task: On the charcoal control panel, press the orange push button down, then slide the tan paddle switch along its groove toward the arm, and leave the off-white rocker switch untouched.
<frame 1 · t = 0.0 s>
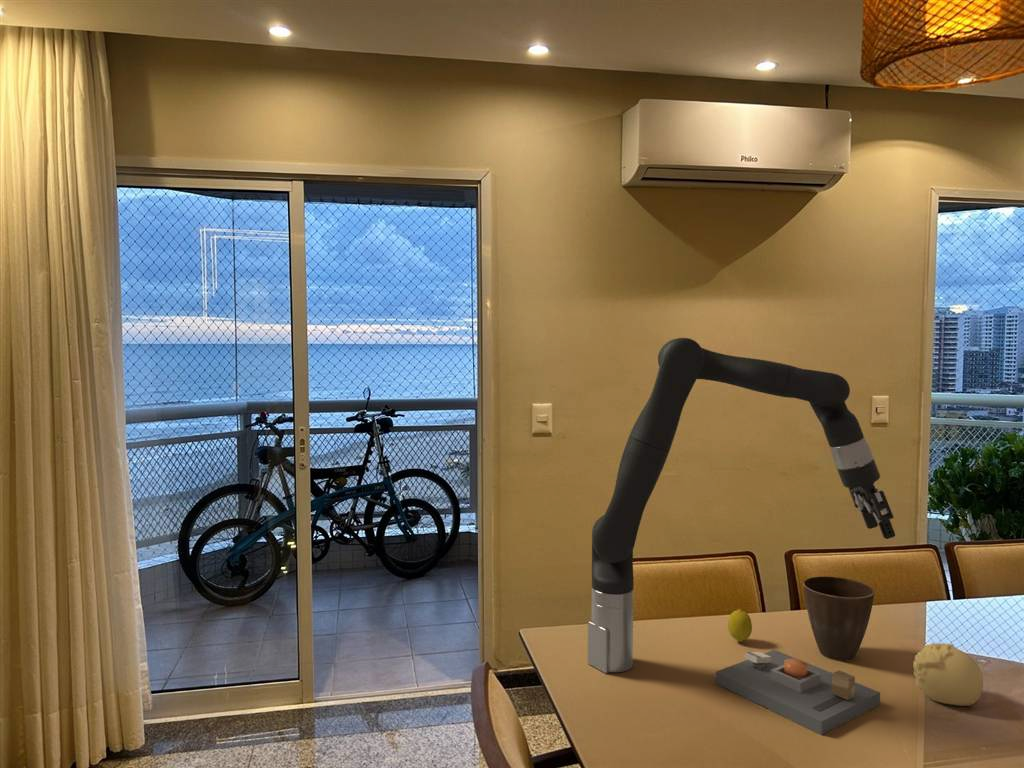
hand: (881, 532, 147), 31 cm above the table, tool tilted 20°, fingers open, 8 cm apart
push button: (795, 668, 141), point 5 cm above the table, slide at 0.0 cm
control panel: (795, 693, 141), on the table
slide paddle: (843, 684, 134), point 5 cm above the table, slide at 0.0 cm
rocker switch: (758, 657, 148), point 4 cm above the table, hinge at 12.0°
lemon: (739, 642, 167), on the table
sculpture: (946, 699, 139), on the table
plant pot: (836, 655, 160), on the table
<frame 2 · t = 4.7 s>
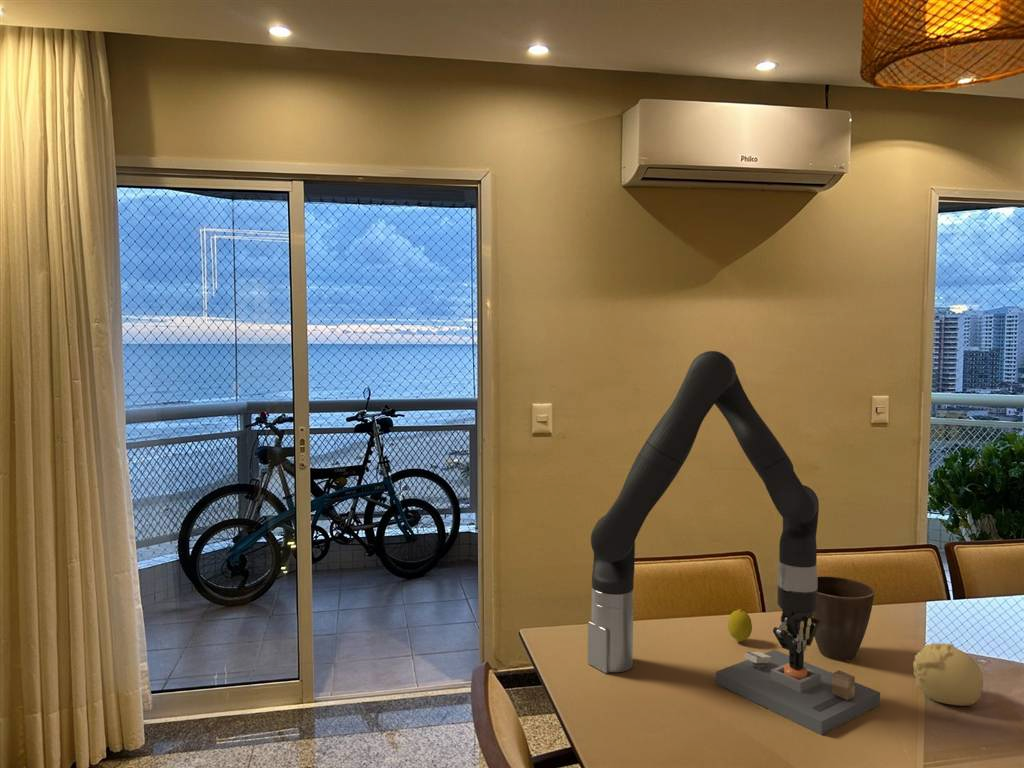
hand: (796, 668, 141), 5 cm above the table, tool pointing down, fingers closed
push button: (795, 673, 141), point 4 cm above the table, slide at 1.1 cm, touching gripper
everything else where it was.
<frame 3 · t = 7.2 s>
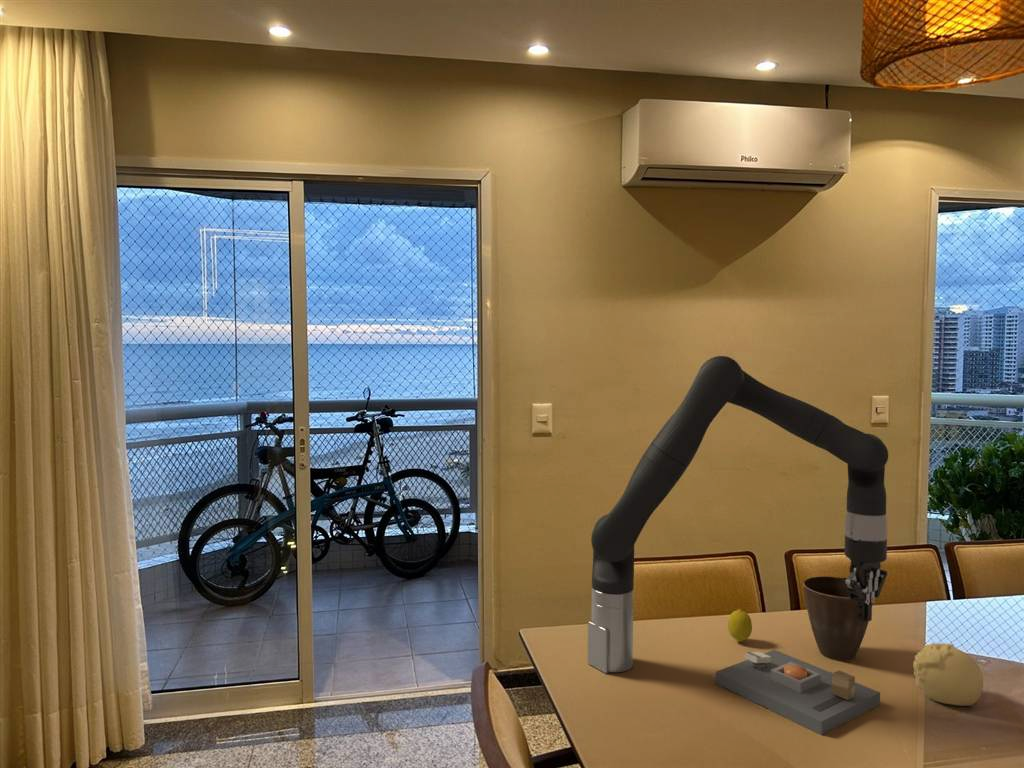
hand: (864, 620, 138), 16 cm above the table, tool pointing down, fingers closed
push button: (795, 674, 141), point 4 cm above the table, slide at 1.3 cm
everything else where it was.
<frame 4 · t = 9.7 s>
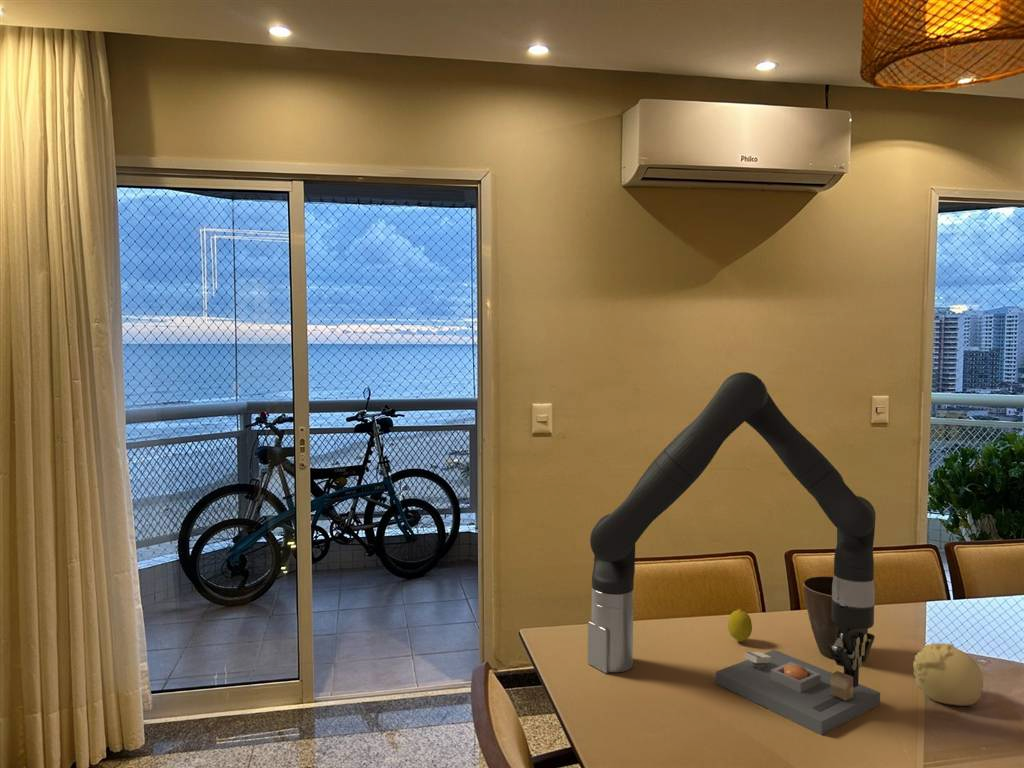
hand: (850, 685, 136), 4 cm above the table, tool pointing down, fingers closed
slide paddle: (841, 685, 134), point 5 cm above the table, slide at 0.5 cm, touching gripper
everything else where it was.
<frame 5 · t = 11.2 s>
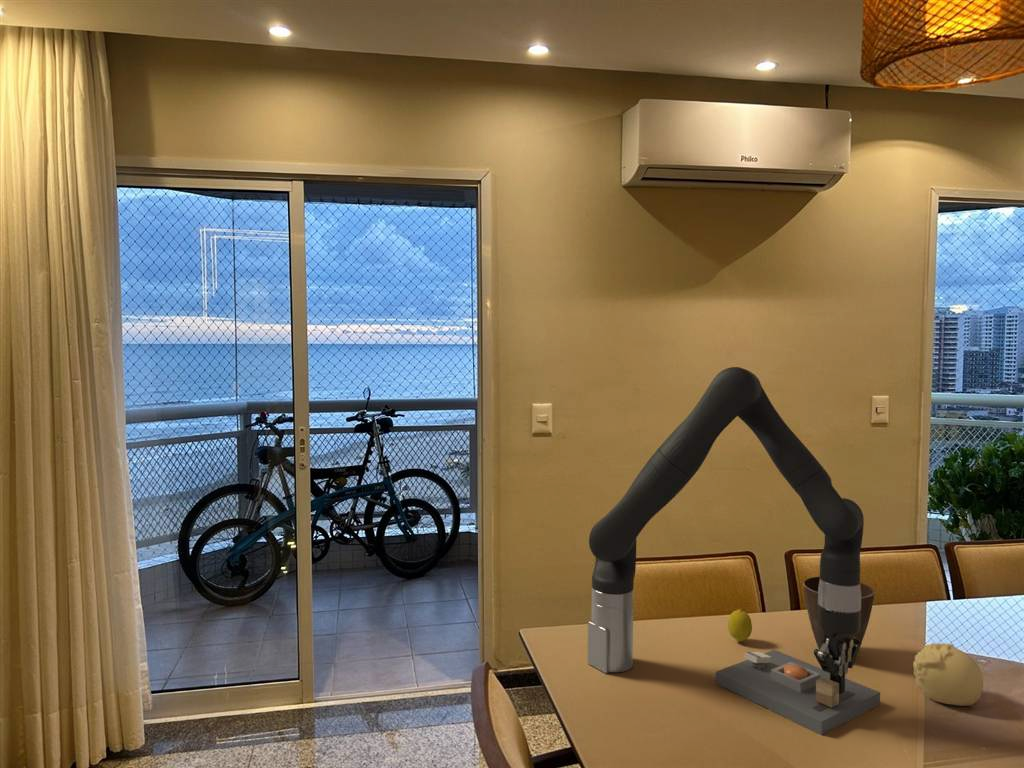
hand: (837, 692, 133), 4 cm above the table, tool pointing down, fingers closed
slide paddle: (827, 692, 131), point 5 cm above the table, slide at 5.4 cm, touching gripper
everything else where it was.
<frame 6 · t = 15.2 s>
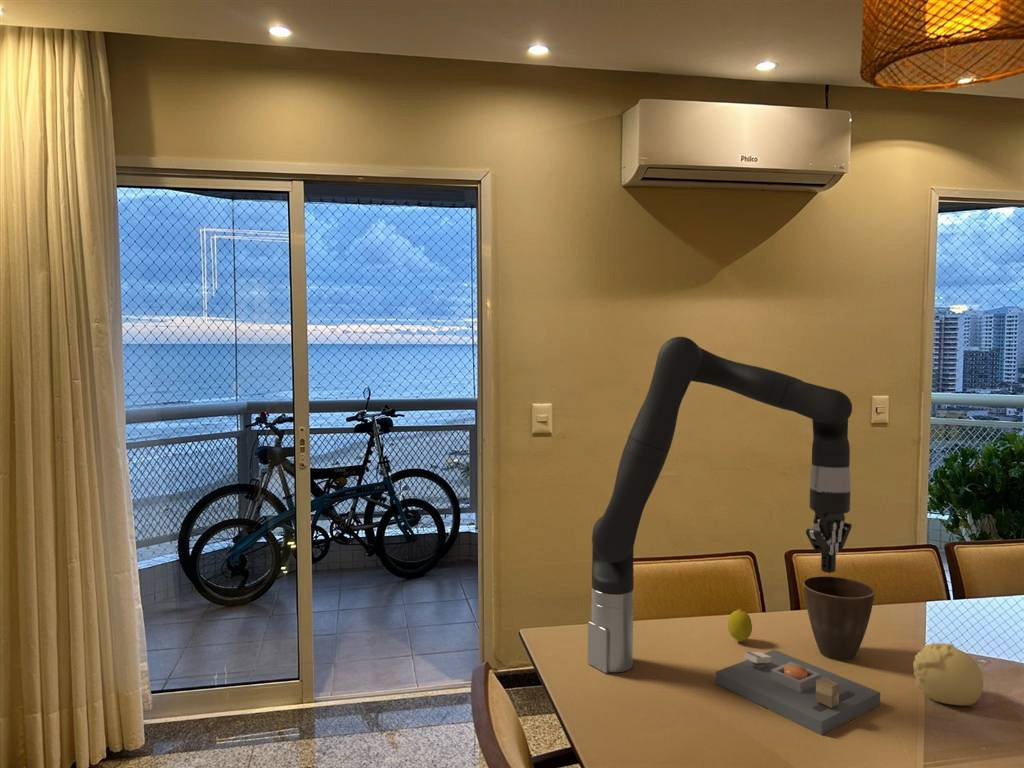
hand: (828, 571, 141), 25 cm above the table, tool pointing down, fingers closed
slide paddle: (827, 692, 131), point 5 cm above the table, slide at 5.4 cm
everything else where it was.
at the end: push button slide at 1.3 cm; slide paddle slide at 5.4 cm; rocker switch at +12° (first picture: +12°) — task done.
